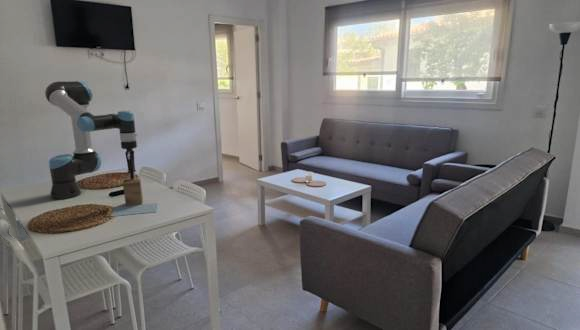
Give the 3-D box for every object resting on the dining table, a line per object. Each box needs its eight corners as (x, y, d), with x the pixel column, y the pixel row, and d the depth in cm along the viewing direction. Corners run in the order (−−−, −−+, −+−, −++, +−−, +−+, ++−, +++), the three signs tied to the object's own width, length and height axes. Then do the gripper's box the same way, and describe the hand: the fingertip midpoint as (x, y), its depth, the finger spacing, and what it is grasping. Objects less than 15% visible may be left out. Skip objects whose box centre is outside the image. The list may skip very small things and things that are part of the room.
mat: (109, 207, 190) (109, 207, 190) (157, 203, 196) (157, 203, 196) (103, 217, 176) (103, 216, 176) (156, 212, 183) (156, 211, 183)
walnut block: (127, 201, 197) (124, 179, 193) (142, 200, 199) (140, 178, 195) (125, 205, 193) (122, 183, 188) (142, 204, 195) (139, 182, 190)
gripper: (134, 142, 185) (139, 186, 191) (137, 138, 197) (141, 180, 203) (118, 143, 183) (124, 187, 188) (122, 139, 195) (127, 181, 201)
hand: (133, 183), depth 196 cm, fingers closed
